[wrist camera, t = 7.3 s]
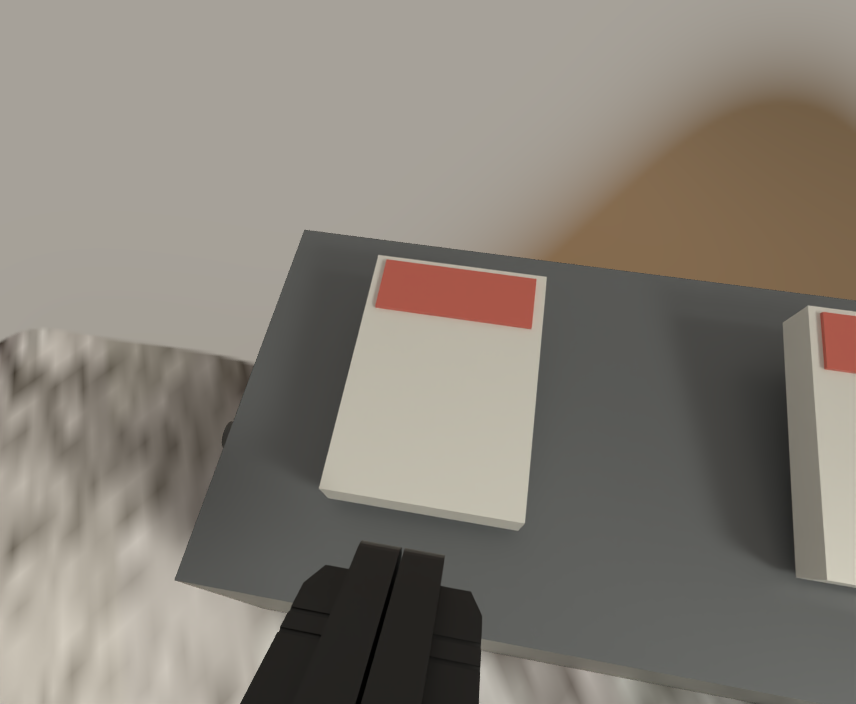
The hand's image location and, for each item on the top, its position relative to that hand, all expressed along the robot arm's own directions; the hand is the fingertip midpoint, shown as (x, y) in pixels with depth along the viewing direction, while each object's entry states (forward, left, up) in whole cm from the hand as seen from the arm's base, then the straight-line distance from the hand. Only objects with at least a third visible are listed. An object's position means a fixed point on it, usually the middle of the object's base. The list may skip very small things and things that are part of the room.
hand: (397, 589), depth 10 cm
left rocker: (0, -6, -3) cm, 6 cm away
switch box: (-5, -6, -13) cm, 15 cm away
